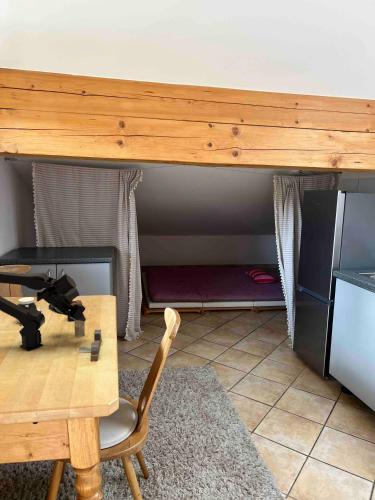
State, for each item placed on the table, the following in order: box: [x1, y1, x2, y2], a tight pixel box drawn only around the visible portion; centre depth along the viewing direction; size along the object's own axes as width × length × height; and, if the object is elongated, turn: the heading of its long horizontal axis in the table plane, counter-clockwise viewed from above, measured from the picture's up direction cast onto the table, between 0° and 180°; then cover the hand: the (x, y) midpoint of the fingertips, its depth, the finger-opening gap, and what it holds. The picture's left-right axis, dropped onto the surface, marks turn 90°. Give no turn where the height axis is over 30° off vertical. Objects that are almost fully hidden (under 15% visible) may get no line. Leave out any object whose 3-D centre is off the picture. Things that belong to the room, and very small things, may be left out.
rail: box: [77, 328, 102, 362], centre depth 136 cm, size 20×8×5 cm, turn 10°
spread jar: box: [16, 296, 44, 326], centre depth 163 cm, size 12×11×12 cm
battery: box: [66, 299, 83, 322], centre depth 168 cm, size 4×7×10 cm, turn 116°
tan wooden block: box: [73, 320, 86, 338], centre depth 149 cm, size 3×3×9 cm
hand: (78, 317), depth 147 cm, fingers open, 9 cm apart
